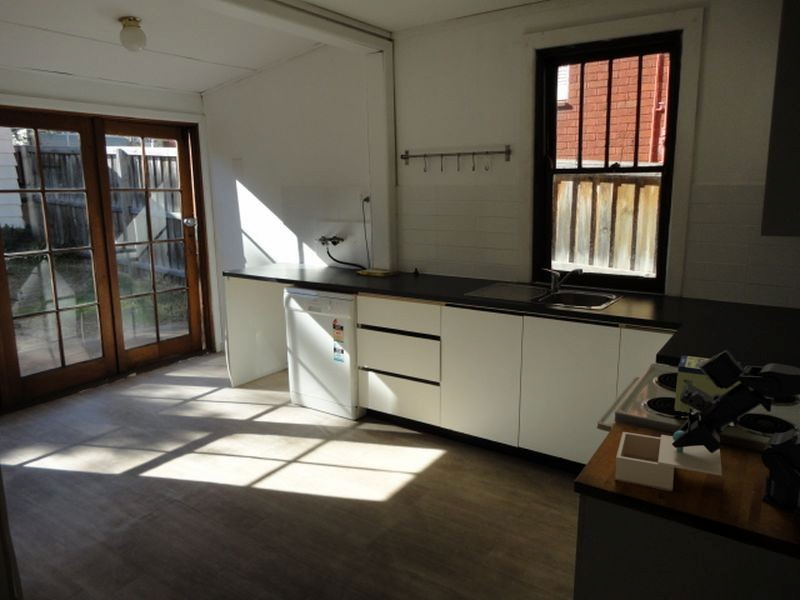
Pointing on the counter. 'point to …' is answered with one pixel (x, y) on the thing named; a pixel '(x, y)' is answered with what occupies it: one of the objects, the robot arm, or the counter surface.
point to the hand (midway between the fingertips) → (673, 442)
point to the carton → (642, 462)
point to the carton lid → (688, 456)
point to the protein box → (694, 380)
